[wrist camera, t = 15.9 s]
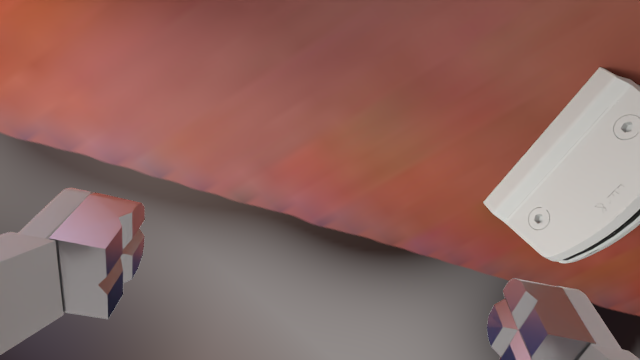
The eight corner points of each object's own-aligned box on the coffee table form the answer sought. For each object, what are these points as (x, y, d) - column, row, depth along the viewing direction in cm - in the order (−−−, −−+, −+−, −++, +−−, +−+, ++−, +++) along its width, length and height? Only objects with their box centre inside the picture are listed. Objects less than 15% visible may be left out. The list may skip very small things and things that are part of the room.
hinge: (603, 62, 38) (711, 123, 30) (631, 81, 40) (738, 141, 33) (480, 205, 45) (542, 281, 38) (509, 213, 48) (573, 287, 40)
